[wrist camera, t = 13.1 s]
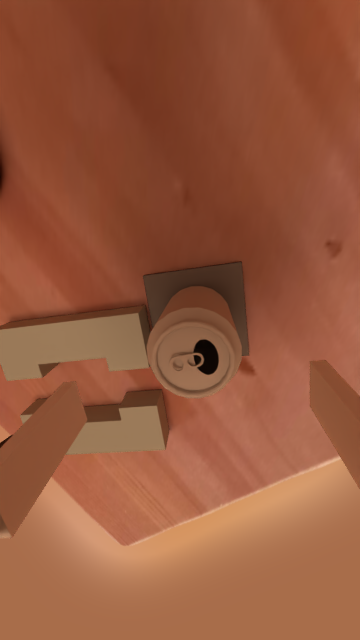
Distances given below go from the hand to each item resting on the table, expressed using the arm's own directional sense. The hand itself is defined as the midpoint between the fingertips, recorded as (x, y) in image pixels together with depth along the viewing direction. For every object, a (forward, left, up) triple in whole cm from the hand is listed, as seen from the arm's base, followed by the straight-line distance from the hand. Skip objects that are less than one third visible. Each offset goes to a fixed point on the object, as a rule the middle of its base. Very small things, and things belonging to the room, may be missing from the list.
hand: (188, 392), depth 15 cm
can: (0, 0, -17) cm, 17 cm away
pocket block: (+7, -15, -17) cm, 24 cm away
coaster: (0, 0, -17) cm, 17 cm away
